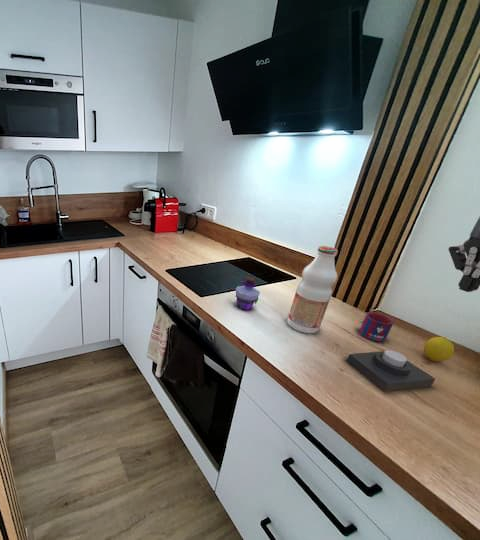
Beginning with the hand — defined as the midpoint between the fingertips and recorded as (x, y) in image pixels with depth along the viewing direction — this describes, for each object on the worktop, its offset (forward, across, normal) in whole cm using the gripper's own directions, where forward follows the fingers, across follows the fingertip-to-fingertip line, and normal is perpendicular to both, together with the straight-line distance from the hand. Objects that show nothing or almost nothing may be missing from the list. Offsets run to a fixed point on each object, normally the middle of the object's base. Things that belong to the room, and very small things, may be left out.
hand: (465, 290), depth 69 cm
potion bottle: (+25, +37, +31) cm, 54 cm away
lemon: (+25, +3, -8) cm, 26 cm away
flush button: (+21, 0, +11) cm, 24 cm away
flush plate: (+25, 0, +11) cm, 27 cm away
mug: (+25, +17, -2) cm, 30 cm away
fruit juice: (+25, +23, +18) cm, 38 cm away
